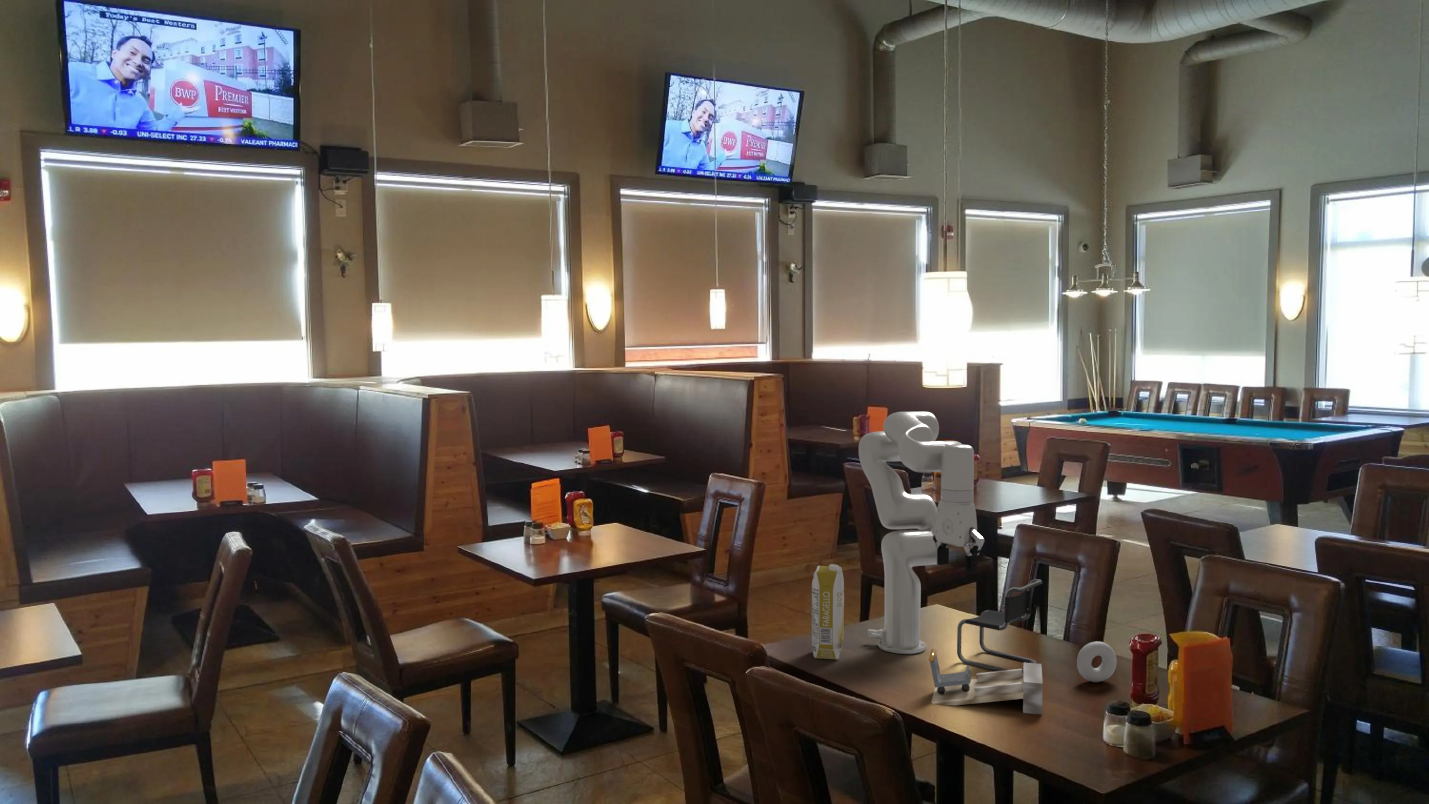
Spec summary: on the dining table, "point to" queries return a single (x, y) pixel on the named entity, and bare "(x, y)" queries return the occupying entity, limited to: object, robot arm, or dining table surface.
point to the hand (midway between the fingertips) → (956, 568)
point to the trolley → (948, 676)
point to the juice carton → (827, 612)
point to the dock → (999, 689)
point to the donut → (1087, 656)
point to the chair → (1001, 622)
